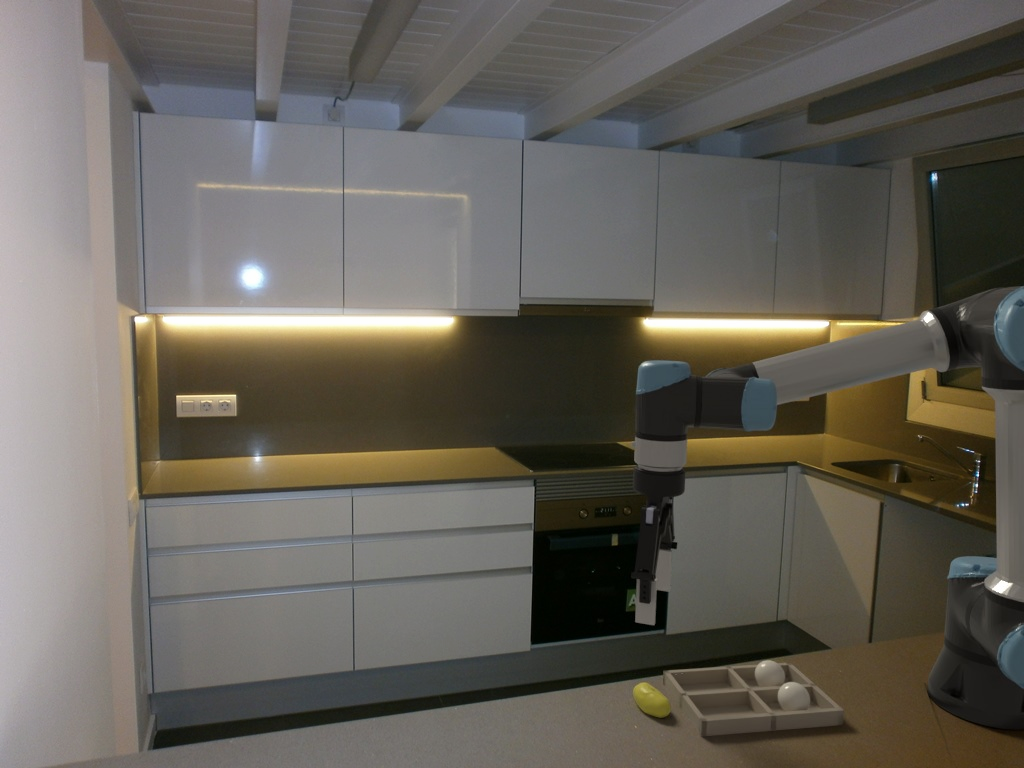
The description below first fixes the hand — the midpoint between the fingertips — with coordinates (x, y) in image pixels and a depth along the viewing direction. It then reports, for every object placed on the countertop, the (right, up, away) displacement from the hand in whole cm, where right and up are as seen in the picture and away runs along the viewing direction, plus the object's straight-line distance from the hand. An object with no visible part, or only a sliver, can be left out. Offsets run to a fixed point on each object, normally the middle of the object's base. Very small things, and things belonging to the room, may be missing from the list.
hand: (653, 605), depth 112 cm
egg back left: (+21, -16, +1) cm, 27 cm away
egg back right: (+20, -16, +7) cm, 26 cm away
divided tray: (+15, -17, +3) cm, 23 cm away
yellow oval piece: (0, -17, +2) cm, 17 cm away
